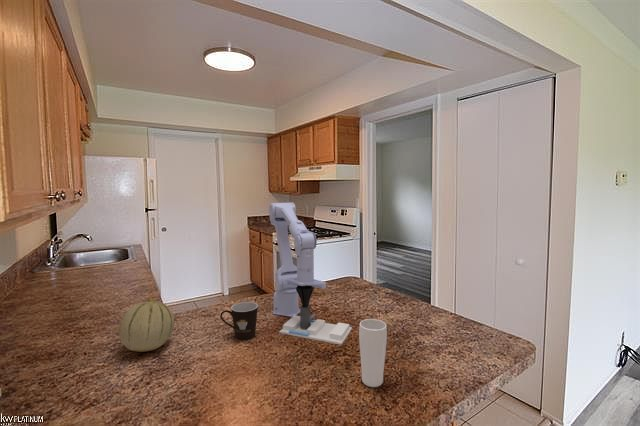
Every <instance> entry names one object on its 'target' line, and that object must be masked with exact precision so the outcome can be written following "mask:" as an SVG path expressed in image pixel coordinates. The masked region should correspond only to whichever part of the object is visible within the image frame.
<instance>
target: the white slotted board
mask: <svg viewBox="0 0 640 426" xmlns="http://www.w3.org/2000/svg"><path fill="white" fill-rule="evenodd" d="M352 330H353V327H352V326H350V324H349V323H343V322H337V323H336V324H333V323H329V322H326V320H324V319H318V318H317V319H313V318H312V319H311V326H310V327H309V328H308V329H307V330H303V329H301V328H300V315H294V316H293V317H290V319H288V320H287V321H286V322H285V323H284V324H283V325H282V329H281V330H279V334H282V335H283V334H284V335H287V336H288V335H289V336H293V337H298V338H303V339H307V340H308V339H310V340H314V341H318V342H319V341H320V342H326V343H329V344H336V345H343V343H344V342H345V340H346V339H347V337H348V335H349V334H350V333H351V331H352Z"/></svg>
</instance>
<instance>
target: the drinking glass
mask: <svg viewBox="0 0 640 426" xmlns="http://www.w3.org/2000/svg"><path fill="white" fill-rule="evenodd" d="M358 326H359V332H358V341H359V342H358V343H359V344H358V345H359V353H360V355H359V356H360V366H361V381H362V383H363V384H364V386H366V387H370V388H378V387H380V386H382V384H383V383H384V371H385V370H384V368H385V360H386V352H387V351H386V350H387V342H388V341H387V338H388V336H387V334H388V333H387V331H388V329H387V324H386V322H385V321H383V320H380V319H377V318H367V319H362V320H361V321H360V322H359V325H358Z"/></svg>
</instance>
